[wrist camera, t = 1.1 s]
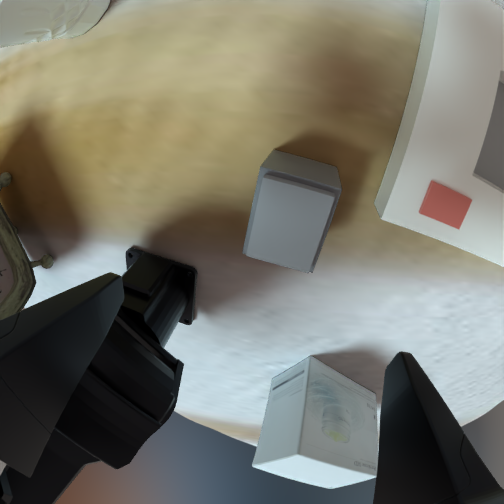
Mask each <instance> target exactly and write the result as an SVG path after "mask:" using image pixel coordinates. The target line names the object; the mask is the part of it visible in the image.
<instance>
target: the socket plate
mask: <svg viewBox="0 0 504 504" xmlns="http://www.w3.org/2000/svg"><path fill="white" fill-rule="evenodd" d="M374 205H375V207H376V209H377V211H378V214H379V216H380V218H381V220H384V221H387V222H390V223H393V224H396V225H399V226H402V227H405V228H407V229H410V230H413V231H416V232H418V233H421V234H424V235H427V236H429V237H432V238H435V239H437V240H440V241H442V242H445V243H448V244H450V245H453V246H455V247H458V248H460V249H463V250H465V251H468V252H470V253H472V254H475V255H477V256H480V257H482V258H484V259H487V260H489V261H491V262H494V263H496V264H498V265H500V266H503V267H504V9H503V8H501V7H500V6H499V5H497V4H496V3H494V2H493V1H492V0H427V7H426V14H425V20H424V26H423V32H422V37H421V42H420V48H419V52H418V57H417V62H416V66H415V71H414V75H413V79H412V83H411V87H410V91H409V95H408V99H407V103H406V106H405V110H404V114H403V117H402V121H401V124H400V127H399V131H398V134H397V137H396V141H395V144H394V147H393V150H392V153H391V156H390V159H389V162H388V165H387V168H386V171H385V174H384V177H383V180H382V183H381V185H380V188H379V191H378V194H377V196H376V199H375V202H374Z"/></svg>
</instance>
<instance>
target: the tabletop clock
mask: <svg viewBox="0 0 504 504" xmlns="http://www.w3.org/2000/svg"><path fill="white" fill-rule="evenodd" d="M10 182H11V175H10V174H9V173H7V172H4V173H2V174H1V175H0V191H1V189H2V187H6V186H8V185H9V184H10ZM39 265H42V267H43V268H46V269H48V268H50V267H51V266H52V265H53V258H52V256H51V255H49V254H45V255H43V256H42V257H41V260H39V261H30V260H29V258H28V256H27V254H26V252H25V250H24V248H23V246H22V244H21V242H20V239H19V237H18V230H17V228H16V227H14V226H13V225H12V223H11V221H10V219H9V218H8V216H7V214H6V212H5V210H4V209H3V207H2V205H1V203H0V320H2V319H4V318H6V317H8V316H11V315H13V314H15V313H17V312H20V311H21V310H22V309H23V308H24V306H25V304H26V303H27V301H28V300H29V298H30V296H31V295H32V292H33V290H34V287H35V285H36V280H35V276H34V271H33V267H36V266H39Z"/></svg>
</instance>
